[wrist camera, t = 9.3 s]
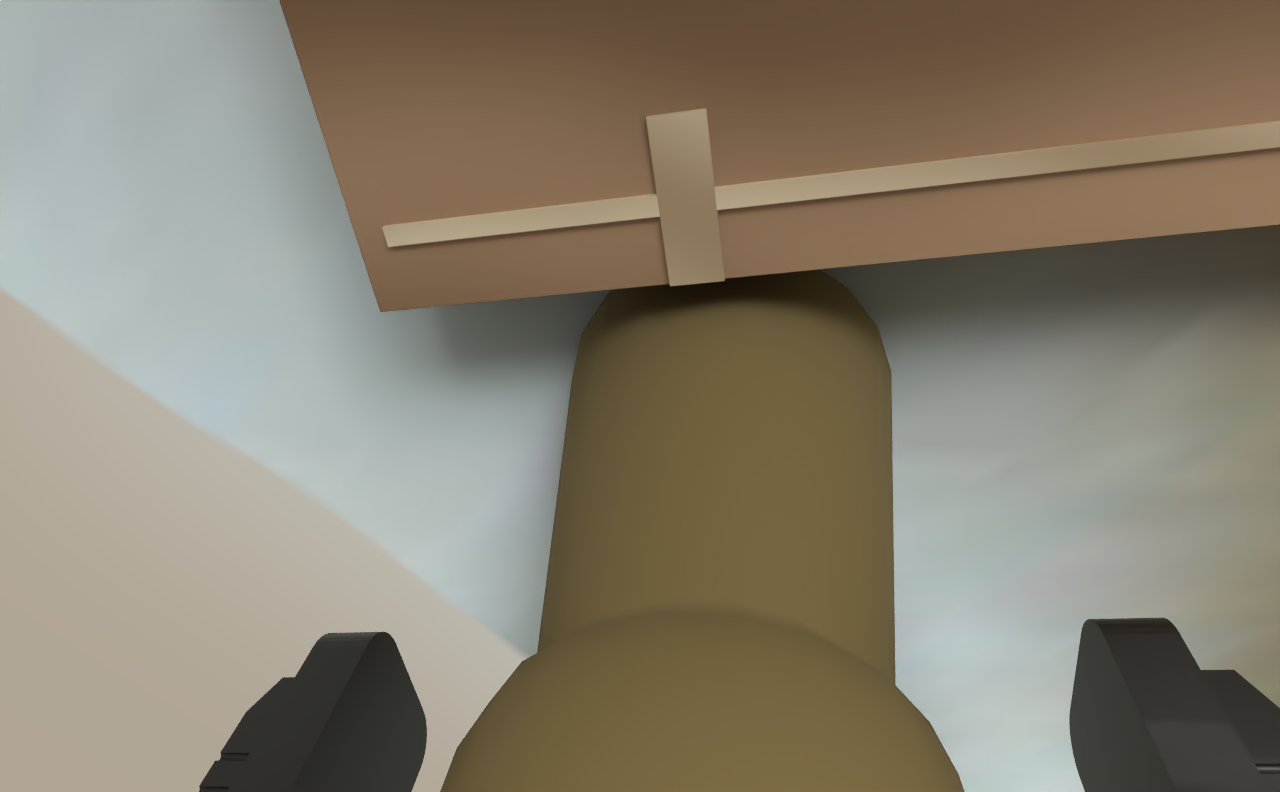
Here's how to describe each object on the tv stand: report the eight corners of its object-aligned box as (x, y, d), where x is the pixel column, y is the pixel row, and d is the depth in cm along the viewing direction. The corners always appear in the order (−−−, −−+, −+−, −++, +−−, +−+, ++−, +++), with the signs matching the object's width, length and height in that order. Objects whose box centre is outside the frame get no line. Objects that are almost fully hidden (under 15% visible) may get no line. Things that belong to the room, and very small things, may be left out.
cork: (511, 398, 17) (186, 1037, 7) (720, 172, 14) (643, 715, 4) (734, 568, 18) (710, 1286, 9) (961, 393, 15) (1293, 1157, 6)
